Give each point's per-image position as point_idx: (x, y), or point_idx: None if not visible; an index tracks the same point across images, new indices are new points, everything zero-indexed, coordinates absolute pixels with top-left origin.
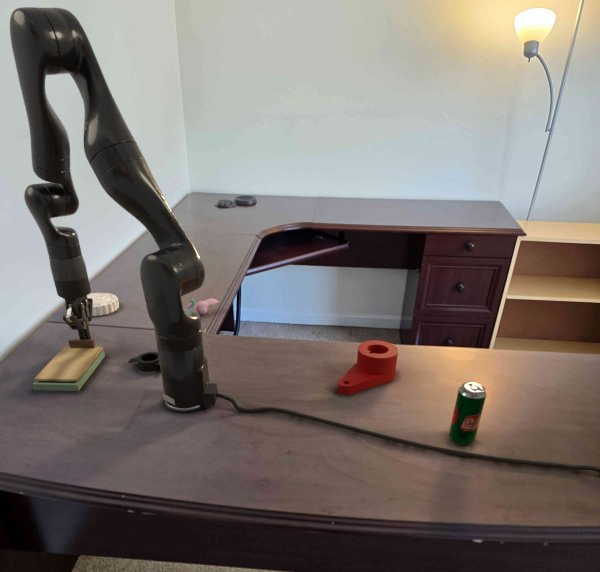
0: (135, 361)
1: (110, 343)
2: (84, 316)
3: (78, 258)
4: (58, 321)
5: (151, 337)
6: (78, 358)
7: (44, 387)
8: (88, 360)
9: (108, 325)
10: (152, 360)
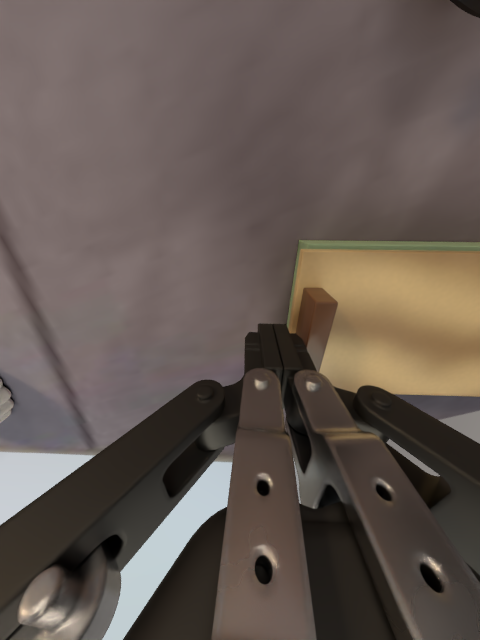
0: None
1: (170, 262)
2: (397, 490)
3: None
4: (81, 434)
5: (28, 13)
6: (415, 318)
7: None
8: (460, 269)
9: (31, 319)
10: None
